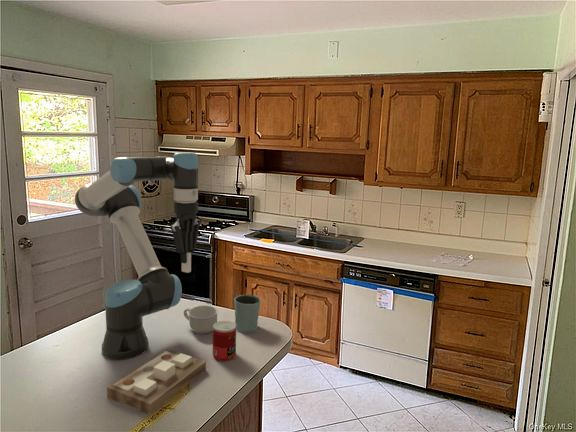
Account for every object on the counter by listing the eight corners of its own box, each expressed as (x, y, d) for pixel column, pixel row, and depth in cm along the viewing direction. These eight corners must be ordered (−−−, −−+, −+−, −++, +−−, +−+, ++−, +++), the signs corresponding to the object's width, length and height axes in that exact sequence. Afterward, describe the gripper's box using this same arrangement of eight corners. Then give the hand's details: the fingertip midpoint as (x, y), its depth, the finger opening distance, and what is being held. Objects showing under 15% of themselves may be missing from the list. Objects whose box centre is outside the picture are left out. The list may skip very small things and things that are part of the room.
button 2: (171, 372, 134) (171, 359, 134) (180, 365, 138) (180, 353, 138) (182, 375, 133) (182, 363, 132) (191, 369, 137) (191, 356, 136)
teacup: (223, 329, 166) (223, 309, 164) (203, 339, 157) (203, 319, 155) (196, 319, 173) (196, 301, 172) (176, 329, 164) (176, 309, 163)
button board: (107, 396, 121) (106, 386, 121) (166, 357, 144) (166, 348, 143) (150, 414, 115) (150, 403, 114) (205, 369, 137) (205, 360, 136)
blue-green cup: (229, 325, 169) (229, 297, 167) (251, 320, 175) (252, 292, 172) (241, 336, 161) (242, 306, 159) (264, 330, 167) (265, 301, 164)
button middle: (153, 380, 127) (153, 367, 126) (163, 373, 131) (163, 360, 130) (165, 384, 125) (165, 371, 124) (175, 377, 129) (175, 364, 128)
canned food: (231, 362, 142) (232, 332, 140) (208, 359, 144) (209, 328, 141) (238, 351, 149) (239, 322, 147) (217, 348, 151) (217, 319, 149)
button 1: (133, 399, 120) (133, 385, 119) (145, 391, 124) (144, 377, 123) (145, 404, 118) (145, 389, 118) (156, 395, 122) (156, 381, 121)
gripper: (182, 205, 129) (182, 279, 134) (207, 199, 141) (207, 268, 145) (162, 202, 133) (163, 274, 137) (189, 197, 144) (189, 264, 149)
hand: (186, 271), depth 141 cm, fingers closed
